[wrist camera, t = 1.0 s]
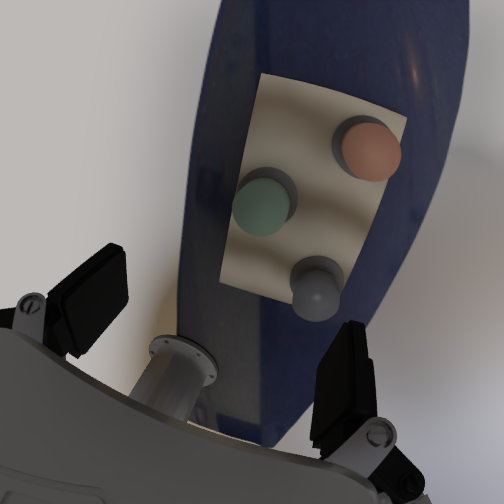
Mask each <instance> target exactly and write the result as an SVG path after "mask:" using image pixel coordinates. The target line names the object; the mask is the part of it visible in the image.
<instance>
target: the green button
mask: <svg viewBox="0 0 504 504" xmlns="http://www.w3.org/2000/svg"><path fill="white" fill-rule="evenodd" d="M289 207H290V200H289V196H288V193H287V191H286V190H285V188H284V187H283V186H282V185H281V184H280V183H278V182H277V181H275V180H273V179H270V178H256V179H253V180H251V181H250V182H248V183H247V184H246V185H245V186H244V187H243V188H242V189H241V190H240V191H239V192H238V193H237V194H236V196H235V198H234V200H233V203H232V213H233V217H234V219H235V221H236V223H237V224H238V226H239V227H240V228H241V229H242V230H244V231H245V232H247V233H248V234H251V235H254V236H260V237H264V236H269V235H272V234H274V233H276V232H277V231H278V230H280V229H281V227H282V226H283V225H284V223H285V220H286V217H287V214H288V211H289Z"/></svg>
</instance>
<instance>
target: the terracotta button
mask: <svg viewBox="0 0 504 504" xmlns="http://www.w3.org/2000/svg"><path fill="white" fill-rule="evenodd" d="M341 152H342V156H343V159H344V161H345V163H346V164H347V166H348V167H349V169H350V170H351V171H352V172H353V173H354V174H355V175H356V176H357V177H359V178H360V179H363V180H365V181H369V182H379V181H383V180H385V179H387V178H389V177H390V176H392V175H393V174H394V173H395V171H396V170H397V168H398V166H399V164H400V160H401V148H400V144H399V142H398V140H397V138H396V136H395V135H394V134H393V133H392V132H391V131H390V130H389V129H388V128H386V127H385V126H382V125H380V124H376V123H366V122H364V123H359V124H356V125H354V126H352V127H351V128H349V129H348V130H347V132H346V133H345V135H344V137H343V139H342V143H341Z"/></svg>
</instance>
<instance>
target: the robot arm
mask: <svg viewBox="0 0 504 504" xmlns="http://www.w3.org/2000/svg"><path fill="white" fill-rule="evenodd" d="M47 294H48V297H47V298H46V299H45V297H44V296H43V295H42V294H40V293H29V294H26V295H24V296H23V297H22V298H21V299H20V300H19V301H18V303H17V306H16V307H14V308H7V309H0V504H432V503H431V501H430V499H429V497H428V495H427V494H426V495H424V494H423V491H424V487H425V479H424V476H423V475H422V473H421V472H420V471H419V469H417V468H416V466H415V465H413V463H412V462H411V461H410V460H409V459H408V458H407V457H406V456H405V455H404V454H403V453H402V452H401V451H400V450H399V449H398V448H397V447H396V446H395V443H396V440H397V433H396V429H395V427H394V426H393V424H392V423H391V422H390V421H388V420H387V419H385V418H382V417H377V400H376V387H375V375H374V365H373V360H372V359H370V358H369V357H368V348H367V339H366V332H365V325H364V323H361V322H357V321H354V320H350V321H349V322H348V323H347V322H344V323H343V325H342V327H341V328H340V330H339V332H338V334H337V335H336V337H335V339H334V340H333V342H332V344H331V345H330V347H329V348H328V350H327V352H326V353H325V355H324V356H323V358H322V360H321V361H320V363H319V365H318V368H317V375H316V386H315V396H314V405H313V414H312V423H311V430H310V440H311V441H313V446H312V448H317V449H320V455H321V457H320V458H319V459H316V458H311V457H306V456H302V455H297V454H292V453H286V452H282V451H278V450H274V449H269V448H265V447H262V446H257V445H254V444H250V443H246V442H243V441H239V440H236V439H232V438H229V437H226V436H223V435H219V434H216V433H213V432H210V431H207V430H205V429H202V428H199V427H196V426H194V425H191V424H188V423H187V421H188V419H189V416H190V414H191V412H192V409H193V407H194V405H195V403H196V400H197V398H198V396H199V394H200V391H201V389H202V387H203V386H207V385H210V384H212V383H213V382H214V381H215V380H216V377H217V375H218V367H217V365H216V362H215V361H214V359H213V358H212V357H211V356H210V355H209V354H208V352H206V351H205V350H204V349H203V348H202V347H200V346H198V345H197V344H195V343H194V342H192V341H190V340H187V339H185V338H182V337H179V336H175V335H160V336H158V337H156V338H154V340H153V341H152V342H151V344H150V346H149V354H150V356H151V361H150V363H149V364H148V366H147V367H146V369H145V370H144V372H143V374H142V375H141V377H140V378H139V380H138V382H137V383H136V385H135V386H134V388H133V390H132V392H131V393H130V395H129V396H126V395H123V394H122V393H120V392H118V391H116V390H114V389H112V388H111V387H109V386H107V385H105V384H103V383H102V382H100V381H98V380H96V379H94V378H93V377H91V376H90V375H88V374H86V373H85V372H83V371H81V370H80V369H78V368H77V367H75V366H74V365H72V364H70V363H69V362H68V361H66V354H67V353H68V352H69V354H71V355H72V356H74V357H75V358H77V359H78V358H79V357H80V356H81V355H83V354H86V352H87V351H88V350H89V349H90V348H91V346H92V345H93V344H94V343H95V342H96V340H97V339H98V338H99V337H100V335H101V334H102V333H103V332H104V331H105V330H106V328H107V327H108V326H109V325H110V324H111V323H112V321H113V320H114V319H115V318H116V317H117V316H118V314H119V313H120V312H121V311H122V310H123V309H124V307H125V306H126V305H127V303H128V300H129V296H128V285H127V270H126V253H125V251H123V247H121V246H119V245H116V244H114V243H109V244H107V245H106V246H105V247H103V248H102V249H101V250H100V251H98V252H97V253H95V254H94V255H93V256H92V257H90V258H89V259H88V260H86V261H85V262H84V263H83V264H81V265H80V266H79V267H78V268H76V269H75V270H74V271H73V272H72V273H71V274H69V275H68V276H67V277H66V278H64V279H63V280H62V281H61V282H60V283H58V285H56V286H55V287H54V288H53V289H52V290H50V291H49V292H48V293H47Z"/></svg>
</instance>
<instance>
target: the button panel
mask: <svg viewBox="0 0 504 504" xmlns="http://www.w3.org/2000/svg"><path fill="white" fill-rule="evenodd" d="M406 120H407V117H404V116H402V115H400V114H397V113H395V112H393V111H390V110H388V109H385V108H383V107H380V106H378V105H375V104H372V103H370V102H367V101H364V100H361V99H359V98H356V97H353V96H350V95H347V94H344V93H340V92H337V91H334V90H331V89H327V88H324V87H320V86H316V85H313V84H309V83H305V82H301V81H297V80H292V79H288V78H283V77H278V76H273V75H268V74H263V73H261V78H260V82H259V86H258V90H257V95H256V99H255V104H254V108H253V113H252V117H251V122H250V126H249V131H248V135H247V140H246V145H245V150H244V154H243V159H242V164H241V169H240V174H239V179H238V184H237V189H236V194H237V193H238V192H239V191H240V190H241V189H242V188H243V187H244V186H245V185H246V184H247V183H248V182H250V181H251V180H253V179H256V178H270V179H273V180H275V181H277V182H278V183H280V184H281V185H282V186H283V187H284V188H285V190H286V191H287V193H288V196H289V200H290V207H289V211H288V214H287V217H286V220H285V223H284V225H283V226H282V227H281V229H280V230H278V231H277V232H276V233H274V234H272V235H269V236H264V237H260V236H254V235H251V234H248V233H247V232H245V231H244V230H242V229H241V228H240V227H239V226H238V224H237V223H236V221H235V219H234V217H233V213H232V214H231V219H230V225H229V230H228V235H227V241H226V246H225V252H224V257H223V263H222V268H221V274H220V280H219V282H221V283H224V284H227V285H230V286H233V287H236V288H240V289H243V290H246V291H249V292H252V293H256V294H259V295H262V296H266V297H269V298H272V299H276V300H279V301H282V302H286V303H289V304H292V298H293V292H294V286H295V283H296V281H297V279H298V278H299V277H300V276H301V275H303V274H304V273H306V272H309V271H315V270H319V271H324V272H327V273H329V274H330V275H332V276H333V277H334V278H335V279H336V281H337V283H338V286H339V296H340V294H341V292H342V290H343V288H344V286H345V284H346V282H347V279H348V277H349V275H350V273H351V271H352V269H353V266H354V264H355V262H356V260H357V257H358V255H359V253H360V250H361V248H362V246H363V243H364V241H365V239H366V236H367V234H368V231H369V229H370V227H371V224H372V222H373V219H374V216H375V214H376V211H377V209H378V206H379V203H380V201H381V198H382V195H383V192H384V190H385V187H386V184H387V181H388V178H387V179H385V180H383V181H379V182H369V181H365V180H363V179H360V178H359V177H357V176H356V175H355V174H354V173H353V172H352V171H351V170H350V169H349V167H348V166H347V164H346V163H345V161H344V159H343V156H342V152H341V143H342V139H343V137H344V135H345V133H346V132H347V130H348V129H349V128H351V127H352V126H354V125H356V124H359V123H364V122H366V123H376V124H380V125H382V126H385V127H386V128H388V129H389V130H390V131H391V132H392V133H393V134H394V135H395V136H396V138H397V140H398V142H399V144H400V141H401V138H402V134H403V131H404V127H405V123H406ZM236 194H235V196H236Z"/></svg>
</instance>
